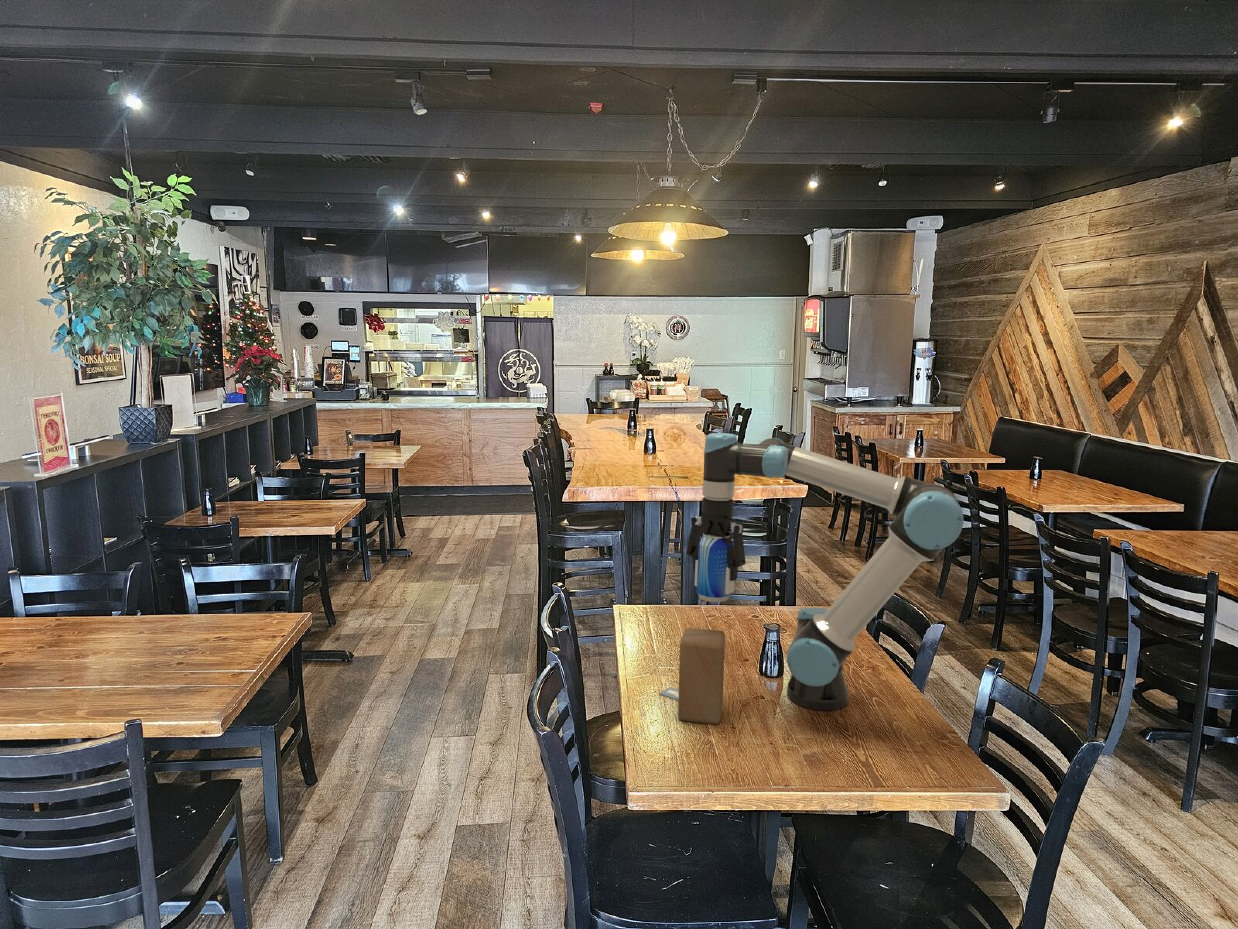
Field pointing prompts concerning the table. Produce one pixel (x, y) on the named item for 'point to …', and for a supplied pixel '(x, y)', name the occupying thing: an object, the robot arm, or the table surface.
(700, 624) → the table surface
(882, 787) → the table surface
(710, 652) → the block
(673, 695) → the card
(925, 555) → the robot arm
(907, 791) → the table surface
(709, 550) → the beer can
